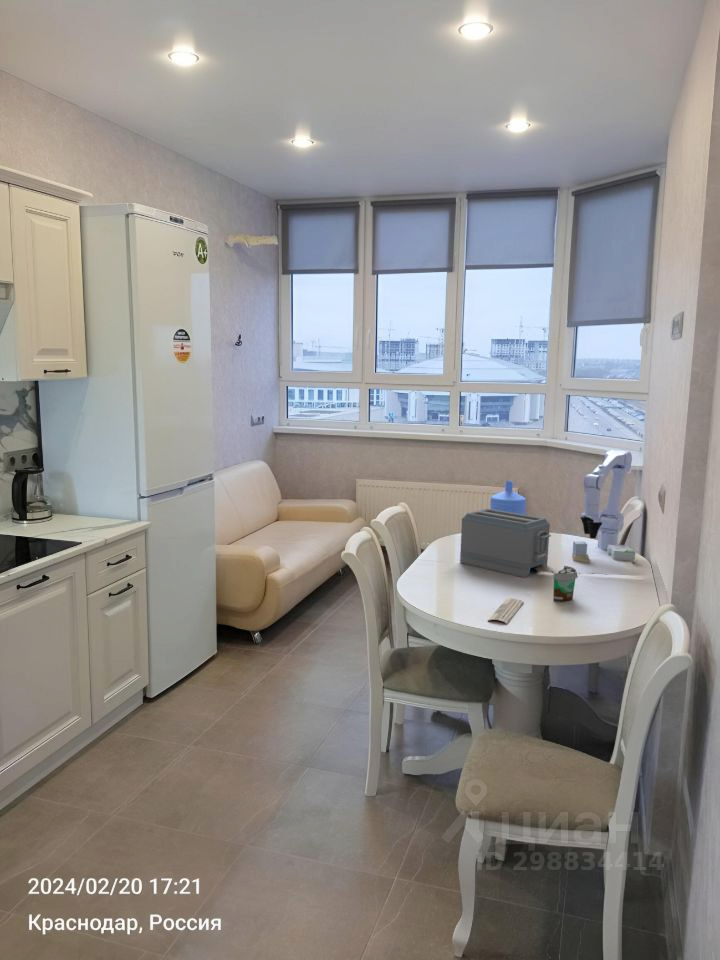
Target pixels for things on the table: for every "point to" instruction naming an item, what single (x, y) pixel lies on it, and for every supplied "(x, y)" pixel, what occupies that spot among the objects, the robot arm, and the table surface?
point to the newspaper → (507, 610)
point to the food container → (564, 584)
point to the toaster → (504, 541)
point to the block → (579, 548)
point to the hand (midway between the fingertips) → (590, 536)
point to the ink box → (621, 552)
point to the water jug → (508, 501)
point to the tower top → (580, 558)
